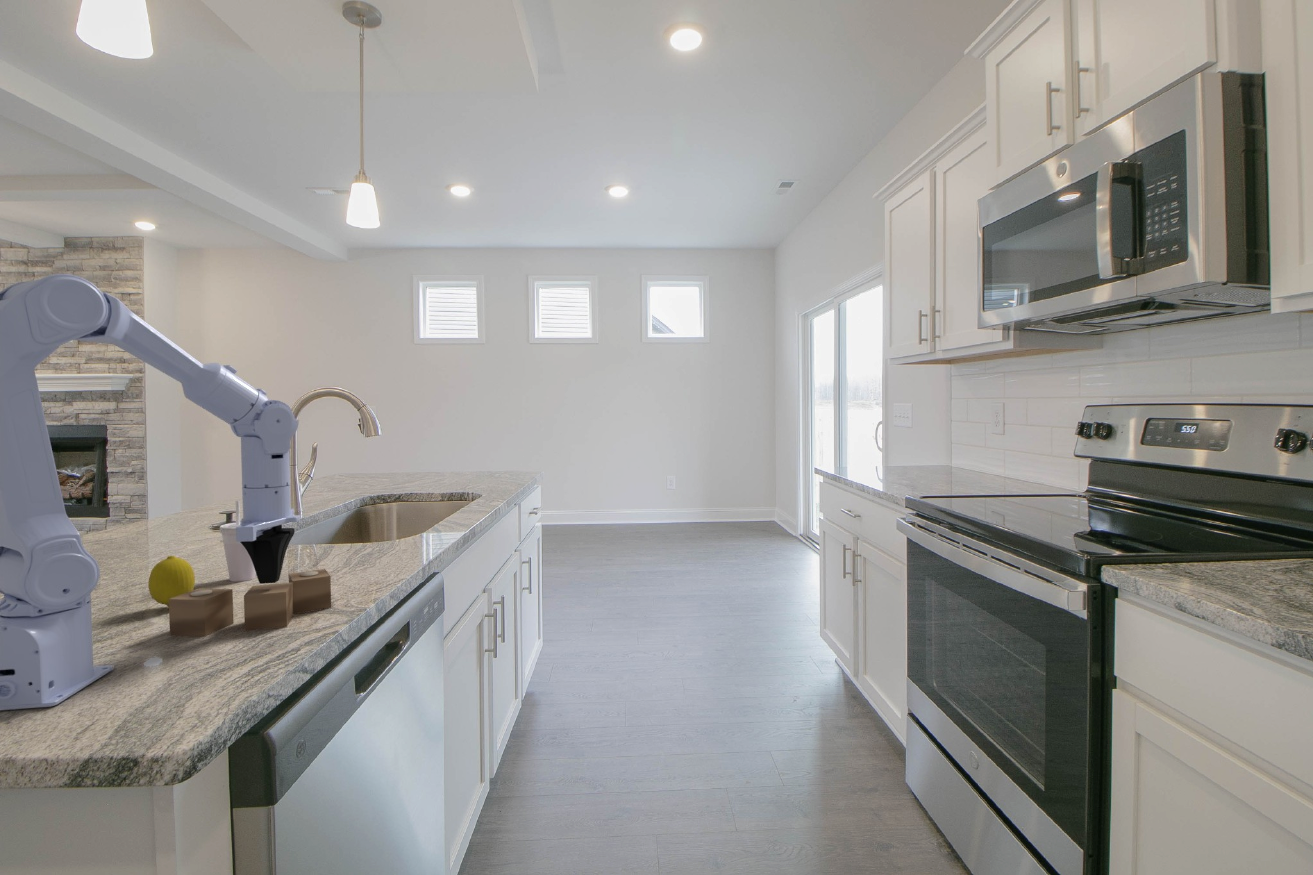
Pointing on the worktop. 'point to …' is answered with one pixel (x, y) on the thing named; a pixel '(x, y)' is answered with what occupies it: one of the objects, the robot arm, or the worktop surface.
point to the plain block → (268, 606)
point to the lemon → (170, 579)
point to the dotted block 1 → (200, 612)
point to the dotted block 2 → (311, 590)
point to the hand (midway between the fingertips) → (269, 582)
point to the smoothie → (236, 552)
